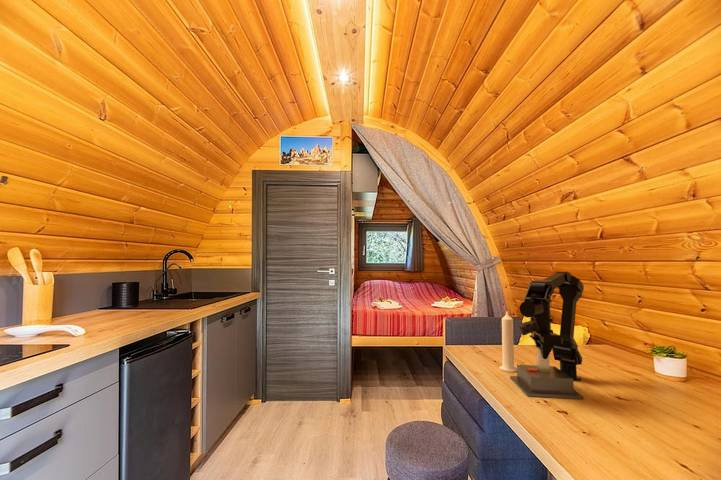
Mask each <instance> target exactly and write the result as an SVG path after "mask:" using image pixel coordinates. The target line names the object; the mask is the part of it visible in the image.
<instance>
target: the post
mask: <svg viewBox="0 0 721 480" xmlns="http://www.w3.org/2000/svg"><path fill="white" fill-rule="evenodd" d="M535 347H536V346H535ZM536 366H537V370H538V372H539V373H550V366H551V365H550V355H549V356H548V358H547V359H543V355H542V349H541V347H536Z"/></svg>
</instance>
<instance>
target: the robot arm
mask: <svg viewBox="0 0 721 480" xmlns="http://www.w3.org/2000/svg"><path fill="white" fill-rule="evenodd" d="M584 287H585V286H584V284H583V281H581V280H580V278H578V277H576V276H574V275H572V274H571V272H568V271H555V272H554V274H551V275H550V276H548V277H545V278H544V279H538V280H537V279H536V280H532V281H530V283H529V284H528V286H527V290H526V292H525V296H524V301H523V302H521V303H520V305H519V308H518V309H519V312H520V314H521V315H522V316H524V317H525V318H530V319H529V320H528V321H525V322H522V323H519V324H516V329H517V330H518V333H519V334H521V335H522V336H526V335H527V336H529V338H531V340H533V341H534V344H535V347H541V349H542V355H543V359H547V358H548V356H549V357H550V354H551V352H552V356H553V360H555V361H559V370H561V371H562V372H564V373H565V374H567V375H568V376H570V377H571V378H573V381H576V380H577V381H578V380H579V381H581V379H582V378H580V377H579V376H578V375H577V374H578V372H577V371H578V370H577V366H578V365H581V366H582V363H583V356H582V354H581V353H580V351H579V349H578V348H579V345H578V343H577V342H576V340H575V338H574V337H575V325H576V324H575V323H576V311H577V302H578V301H579V300H580V299H581V298H582V296H583V292H584V290H585V288H584ZM555 289H558V294H559V295H560V297H561V299H562V306H561V307H562V308H561V317H560V318H561V319H560V327H559V329H560V331H559V334H557V333H556V332H554V330H553V329H551V328H552V327H551V326H552V324H551V322H552V323H553V322H554V320H553V318H551V303H552V299H551V297H552V295H554V293H555Z"/></svg>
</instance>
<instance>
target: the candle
mask: <svg viewBox="0 0 721 480" xmlns="http://www.w3.org/2000/svg"><path fill="white" fill-rule="evenodd" d="M501 343H502V344H501V345H502V347H501V348H502V349H501V350H502V353H501V354H502V356H501V357H502V365H500V366H499V370H501V371H503V372H506V373H517V366H516V367H515V350H514V349H515V348H514V347H515V346H514V343H515V341H514V319H513V318H512V317H511V316H510V314H509V311H508V310H507V311H506V313H505V315H504V316H503V317H502V318H501Z"/></svg>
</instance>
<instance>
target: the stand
mask: <svg viewBox="0 0 721 480" xmlns="http://www.w3.org/2000/svg"><path fill="white" fill-rule="evenodd" d="M516 368H517V372H516V375H510V376H509V379H510V380H511V381H512V382H513V383H514V384H515V385H516V387H518V388H519V389H520V390H521V392H522V393H523V394H524V395H525V396H526V397H528V398H530V397H531V398H549V399H550V398H551V399H568V400H569V399H571V400H573V399H574V400H584V395H582V394H581V393H580V392H578V391H577V390H575V388H574V385H575V384H574V380H573V378H571V377H570V376H568V375H567V374H565V373H564V372H562V371H561V370H560V368H558V367H556V366H555V365H554V366H553V365H550V373H539V372H538V370H537V365H534V364H533V365H531V364H529V365H528V364H517V365H516Z"/></svg>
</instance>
